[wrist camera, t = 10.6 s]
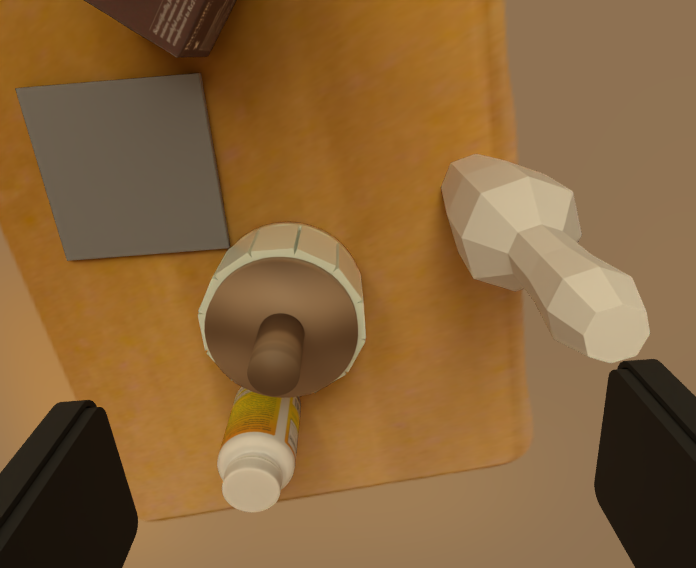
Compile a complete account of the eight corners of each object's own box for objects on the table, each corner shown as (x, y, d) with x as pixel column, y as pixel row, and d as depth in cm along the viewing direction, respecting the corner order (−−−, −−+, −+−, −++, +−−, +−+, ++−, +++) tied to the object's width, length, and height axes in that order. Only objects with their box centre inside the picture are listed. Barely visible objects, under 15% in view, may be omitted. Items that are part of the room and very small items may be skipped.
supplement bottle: (222, 400, 46) (191, 490, 37) (266, 361, 45) (247, 444, 35) (270, 438, 48) (253, 534, 38) (315, 401, 46) (309, 491, 37)
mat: (20, 87, 36) (15, 88, 35) (200, 72, 36) (198, 73, 35) (70, 257, 41) (66, 260, 40) (230, 245, 41) (228, 248, 40)
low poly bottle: (431, 142, 38) (536, 250, 18) (522, 140, 38) (732, 245, 18) (427, 229, 40) (515, 412, 20) (513, 228, 40) (687, 408, 20)
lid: (194, 263, 35) (168, 302, 29) (351, 250, 34) (353, 287, 29) (221, 394, 39) (203, 449, 33) (362, 383, 38) (366, 437, 33)
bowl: (206, 227, 40) (185, 256, 34) (356, 216, 40) (359, 243, 34) (230, 357, 44) (215, 401, 39) (365, 347, 44) (369, 389, 39)
